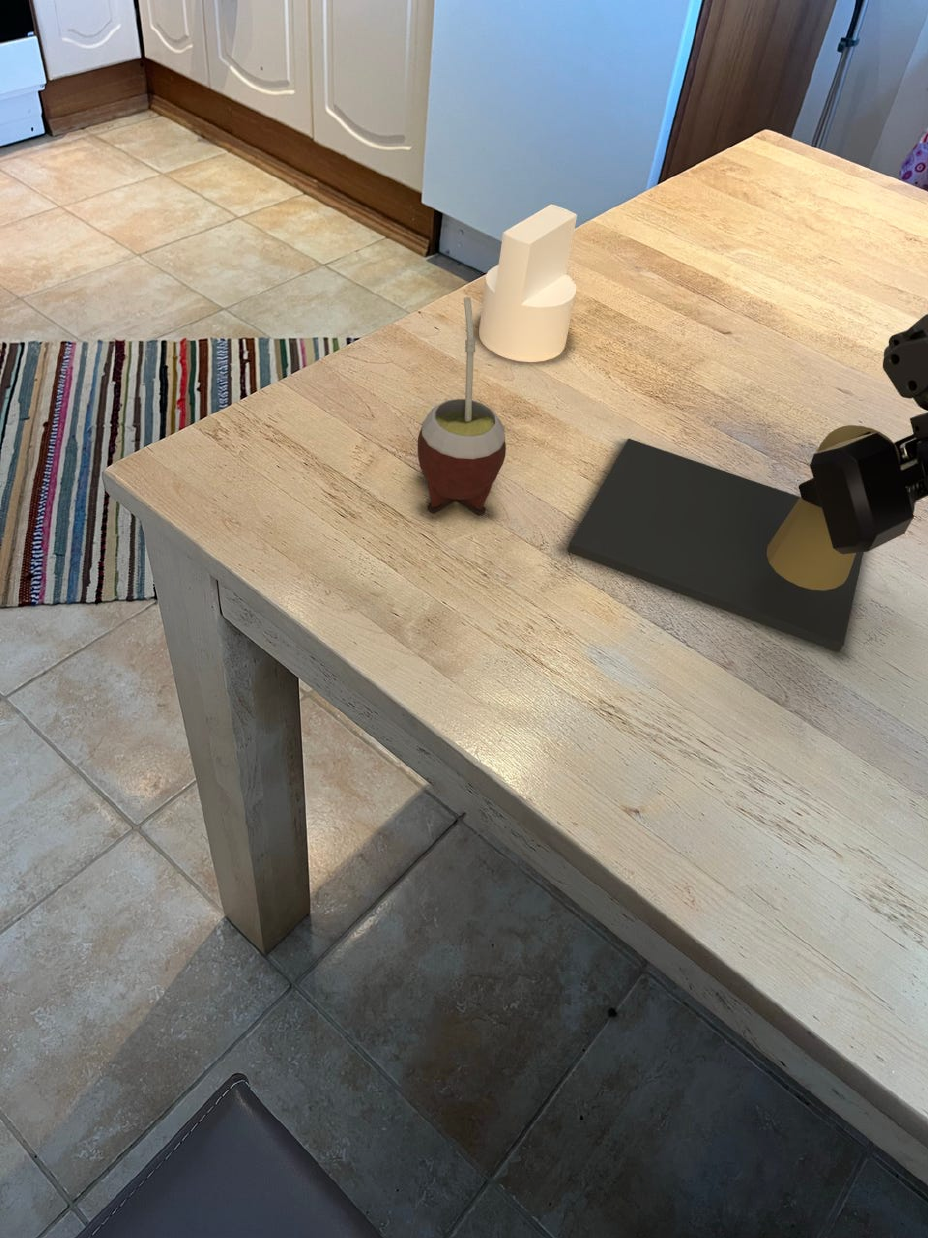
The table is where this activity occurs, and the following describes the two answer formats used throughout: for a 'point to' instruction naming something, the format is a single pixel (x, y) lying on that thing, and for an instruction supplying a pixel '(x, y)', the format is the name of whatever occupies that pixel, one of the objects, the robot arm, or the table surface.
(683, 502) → the mat
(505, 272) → the base with upright slab
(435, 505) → the mate gourd
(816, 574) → the mustard peg figure
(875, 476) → the robot arm
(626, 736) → the table surface
